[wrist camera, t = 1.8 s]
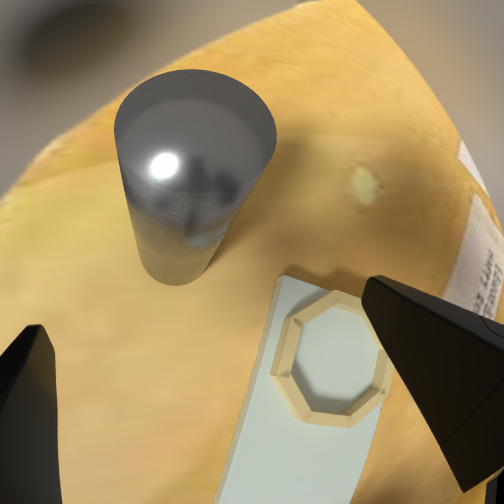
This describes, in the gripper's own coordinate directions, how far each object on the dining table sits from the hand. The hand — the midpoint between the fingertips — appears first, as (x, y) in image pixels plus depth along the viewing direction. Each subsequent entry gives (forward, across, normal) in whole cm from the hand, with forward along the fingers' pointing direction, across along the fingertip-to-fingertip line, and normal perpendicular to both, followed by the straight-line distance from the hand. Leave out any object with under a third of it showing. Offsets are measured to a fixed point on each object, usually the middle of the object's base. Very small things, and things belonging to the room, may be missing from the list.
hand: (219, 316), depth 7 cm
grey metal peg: (+12, 0, +5) cm, 13 cm away
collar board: (+3, -7, +13) cm, 15 cm away
